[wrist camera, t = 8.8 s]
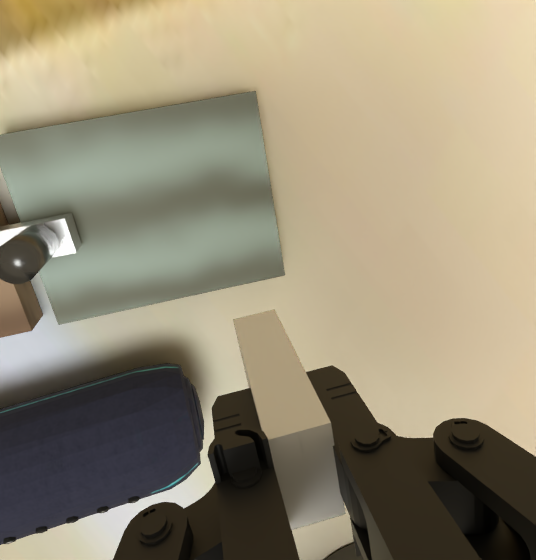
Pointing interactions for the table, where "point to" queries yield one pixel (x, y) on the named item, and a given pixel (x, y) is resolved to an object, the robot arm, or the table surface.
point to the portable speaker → (96, 448)
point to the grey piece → (35, 246)
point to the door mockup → (144, 207)
